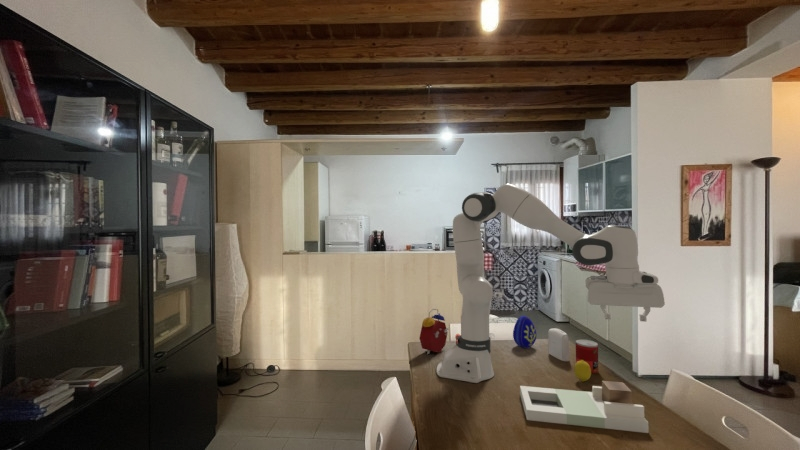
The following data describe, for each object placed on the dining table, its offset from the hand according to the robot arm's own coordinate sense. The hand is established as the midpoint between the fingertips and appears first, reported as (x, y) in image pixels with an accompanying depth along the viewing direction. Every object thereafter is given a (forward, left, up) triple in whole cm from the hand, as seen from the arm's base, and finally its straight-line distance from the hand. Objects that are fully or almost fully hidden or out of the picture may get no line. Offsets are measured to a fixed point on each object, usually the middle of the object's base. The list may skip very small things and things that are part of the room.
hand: (625, 320), depth 107 cm
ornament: (-23, +53, -28) cm, 65 cm away
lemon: (-7, +18, -28) cm, 35 cm away
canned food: (-2, +30, -28) cm, 42 cm away
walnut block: (-4, -5, -25) cm, 26 cm away
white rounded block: (-10, +42, -28) cm, 52 cm away
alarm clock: (-64, +38, -28) cm, 80 cm away
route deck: (-15, -5, -28) cm, 32 cm away
